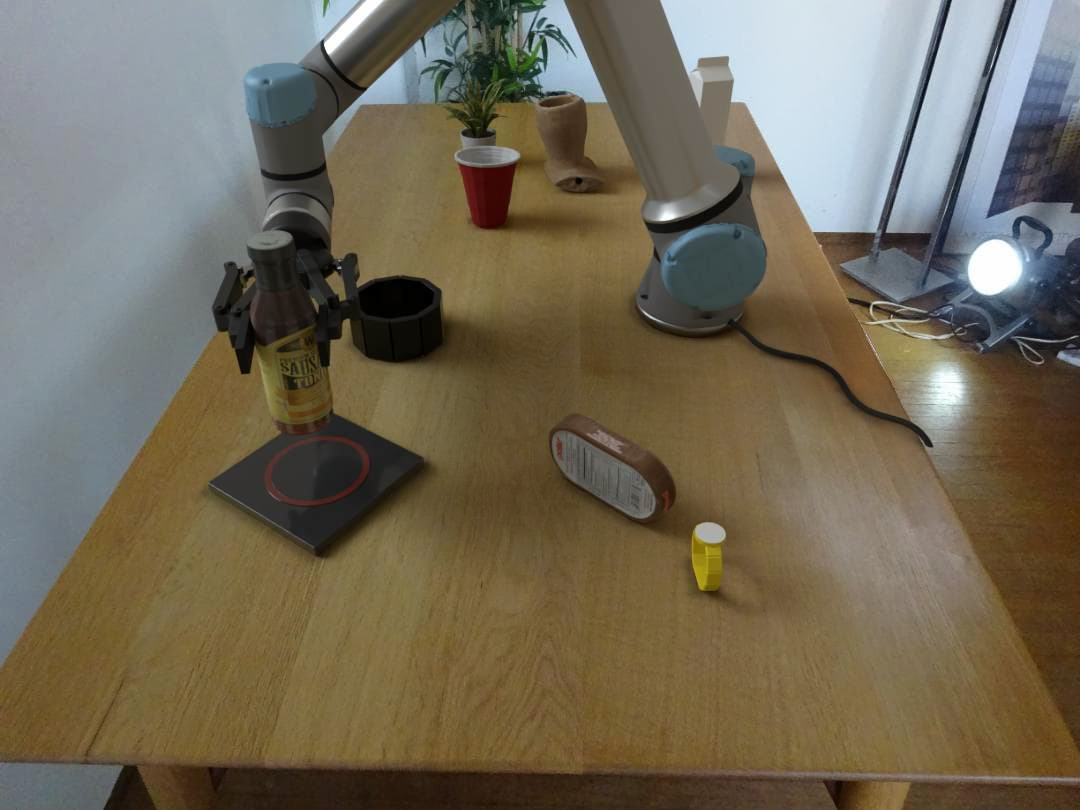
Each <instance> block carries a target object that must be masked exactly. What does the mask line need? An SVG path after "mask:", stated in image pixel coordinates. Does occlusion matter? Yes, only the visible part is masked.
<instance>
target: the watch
mask: <svg viewBox="0 0 1080 810" xmlns="http://www.w3.org/2000/svg"><path fill="white" fill-rule="evenodd" d="M726 540H727V533H726V530H725V529H724V528H723V527H722V526H721V525H719V524H717V523H715V522H711V521H710V522H709V521H705V522H701V523H699V524H697V525H695V527H694V528H693V531H692V536H691V560H692V568H693V572H694V575H695V578H696V581H697V585H698V589H699V590H700V591H703V592H711V591H714V592H715V591H718V590H719V588H720V586H721V585H722V584H721V583H722V578H723V552H722V547H723V545H724V544H725V542H726Z"/></svg>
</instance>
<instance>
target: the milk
mask: <svg viewBox="0 0 1080 810" xmlns="http://www.w3.org/2000/svg"><path fill="white" fill-rule="evenodd" d="M729 63H730V56H728V55H723V56H721V55H720V56H710V57H709V56H707V57H699V58H698V59H697V64H696V65H697V66H696V67H695V68H694V69H692V70H691V71H689V73H688V77H689V80H690V82H691V85H692V88H693V91H694V93H695V96H696V99H697V101H698V104H699V107H700V110H701V112H702V115H703V118H704V121H705V123H706V126H707V129H708V131H709V134H710V137H711V140H712V142H713V145H717V146H725V143H726V136H727V129H728V123H729V117H730V110H731V102H732V96H733V89H734V83H735V78H734V75H733V73H732V71H731V68H730V66H729Z"/></svg>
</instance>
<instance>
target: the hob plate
mask: <svg viewBox="0 0 1080 810" xmlns="http://www.w3.org/2000/svg"><path fill="white" fill-rule="evenodd" d="M424 467H425V458H424V457H423V456H421V455H419V454H417V453H415V452H413V451H411V450H409V449H407V448H405V447H403V446H401V445H399V444H397V443H396V442H393V441H391V440H389V439H387V438H385V437H383V436H381V435H379V434H377V433H375V432H373V431H372V430H369V429H366V428H365V427H363V426H361V425H359V424H357V423H355V422H353V421H351V420H348V419H347V418H344V417H343V416H341V415H338V414H336V413H335V412H333V416H332V418H331V420H330V422H329V423H328V424H327V425H326V426H325V427H324V428H323V429H321V430H319V431H318V432H314V433H312V434H307V435H298V436H295V435H294V436H292V435H287V434H285V433H282V432H280V433H279V434H278V435H276V436H274V437H273V438H272V439H269V441H268V442H265V443H264V444H263V445H262V446H260V447H258V448H257V449H255V450H254V451H253V452H251V453H249V454H248V455H246V456H245V457H244V458H242V459H241V460H239V461H237V462H236V463H235V464H233V465H231V466H230V467H228V468H227V469H225V471H223V472H221V473H220V474H218V475H217V476H215V477H214V478H212V479H211V480H210V481H208V482H207V486H208V488H209V491H210V492H211V493H213V494H214V495H216V496H217V497H219V498H221V499H222V500H224V501H226V502H227V503H229V504H231V505H232V506H234V507H236V508H237V509H239V510H240V511H242V512H244V513H245V514H247V515H249V516H250V517H252V518H253V519H255V520H257V521H258V522H259V523H261V524H264V526H266V527H268V528H270V529H271V530H273V531H275V532H276V533H278V534H280V535H281V536H282V537H284V538H286V539H288V540H289V541H291V542H293V543H294V544H296V545H297V546H298V547H301V548H302V549H303V550H305V551H307V552H308V553H310V554H312V555H313V556H315V557H317V556H318V555H319V554H321V553H322V552H323V551H324V550H325V549H327V548H328V547H329V546H330V545H332V544H333V543H334V542H335V541H336V540H337V539H339V538H340V537H341V536H342V535H344V533H346V532H347V531H348V530H350V529H351V528H352V527H353V526H354V525H355V524H357V523H358V522H359V521H360V520H361V519H362V518H364V517H365V516H366V515H368V514H369V513H370V512H371V511H372V510H373V509H375V508H376V507H377V506H378V505H379V504H380V503H382V502H383V501H385V499H387V497H389V496H390V495H391V494H393V492H395V491H396V490H397V489H398V488H399V487H401V486H402V485H403V484H405V483H406V482H407V481H408V480H409V479H410V478H411V477H412V476H414V475H415V474H416V473H418V472H419V471H420V470H421V469H422V468H424Z"/></svg>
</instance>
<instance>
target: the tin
mask: <svg viewBox="0 0 1080 810" xmlns="http://www.w3.org/2000/svg"><path fill="white" fill-rule="evenodd" d="M548 435H549V436H548V445H549V446H548V447H549V452H550V457H551V459H552V461H553V463H554V464H555V466H556V467H557V469H558V470H559V472H560V473H561V475H563V477H565V478H566V479H567V480H568V481H569V482H570V483H572V484H573V485H574V486H576V487H578V488H579V489H581V490H583V491H584V492H586V493H587V494H589V495H591V496H592V497H594V498H596V499H597V500H598V501H599V502H601V503H603V504H604V505H606V506H608V507H610V508H611V509H613V510H614V511H615V512H617V513H619V514H621V515H622V516H624V517H625V518H627V519H629V520H631V521H633V522H637V523H641V524H649V523H653V522H654V521H657V520H658V519H659V518H660V517H662V516H663V514H665V512H667V511H668V510H670V509H671V508H672V507H673V506H674V505H675V502H676V499H677V488H676V484H675V480H674V478H673V476H672V474H671V472H670V470H669V469H668V467H667V466H666V465H665V464H664V462H663V461H662V460H661V459H660V458H659V457H658V456H657V455H656V454H655V453H654V452H652V451H651V450H650V449H648V448H646V447H645V446H643V445H641V444H639V443H638V442H636V441H634V440H632V439H631V438H629V437H627V436H625V435H623V434H622V433H620V432H618V431H616V430H615V429H613V428H611V427H610V426H607V425H606V424H604V423H602V422H600V421H598V420H597V419H595V418H593V417H592V416H590V415H587V414H585V413H581V412H571V413H568V414H566V415H565V416H564V417H563V418H562V419H561V420H560V421H559V422H558V423H556V424H555V425H554V426H553V427H552V428H551V429H550V431H549V434H548Z"/></svg>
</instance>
